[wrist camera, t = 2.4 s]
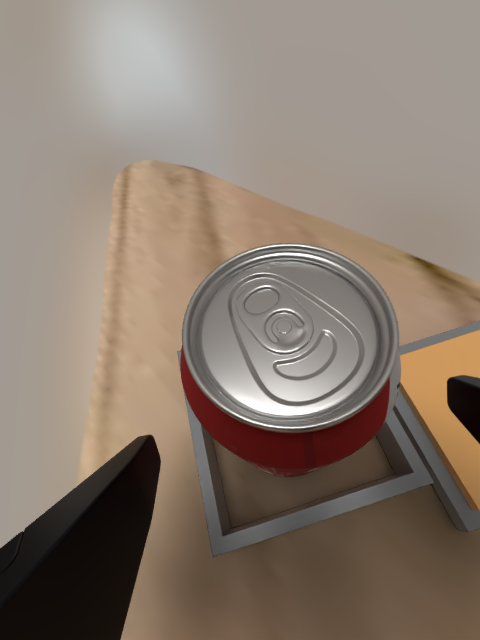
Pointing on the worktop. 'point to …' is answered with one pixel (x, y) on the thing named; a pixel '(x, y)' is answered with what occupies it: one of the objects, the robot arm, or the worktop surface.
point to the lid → (442, 418)
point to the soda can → (290, 357)
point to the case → (226, 539)
